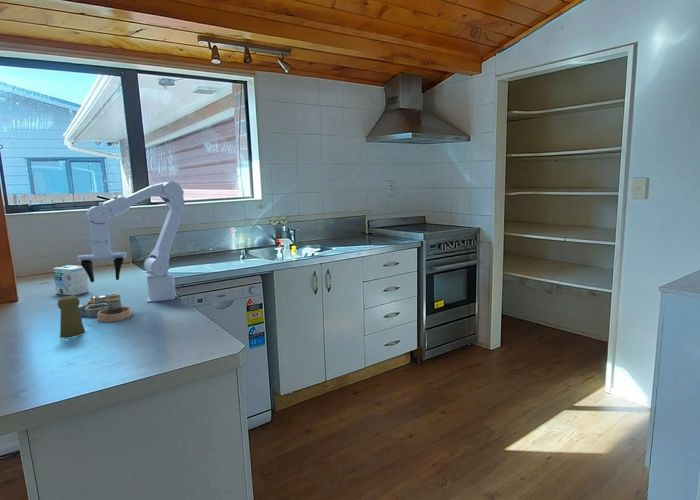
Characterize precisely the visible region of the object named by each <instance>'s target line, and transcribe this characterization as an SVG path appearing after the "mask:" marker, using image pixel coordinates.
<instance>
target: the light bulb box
mask: <svg viewBox="0 0 700 500" xmlns="http://www.w3.org/2000/svg"><path fill="white" fill-rule="evenodd" d="M52 271H53V277H54V287H55V294H58V295H65V296H78V295H83V294H85V293H89V292H90V291H89V283H88V274H87V272H86V271H85V269H84V268H83V267H82V265H71V264H67V265H63V266H57V267H53V270H52Z"/></svg>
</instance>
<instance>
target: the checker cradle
mask: <svg viewBox="0 0 700 500" xmlns="http://www.w3.org/2000/svg"><path fill="white" fill-rule="evenodd" d="M84 305H85V304H79V306H78V310H79V313H80V317H81V318H82V317H88V318H96V317H97V313H98V312H99V311H101V310H104V309H107V304H106V303H102V304H94V305H90V306H87V307H85V306H84ZM100 307H102V308H100ZM94 308H97V309H94Z"/></svg>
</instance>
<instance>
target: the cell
mask: <svg viewBox="0 0 700 500" xmlns="http://www.w3.org/2000/svg"><path fill="white" fill-rule="evenodd" d="M109 295H110V296H107V297H106V303H107V312H108V314H117V313H121V312H122V309H121V306H122V303H121V295H120V294H116V293H111V294H109Z"/></svg>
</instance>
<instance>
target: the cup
mask: <svg viewBox="0 0 700 500" xmlns="http://www.w3.org/2000/svg"><path fill="white" fill-rule="evenodd" d="M121 309H122V312H121V313H117V314H108V312H107V309H104V310H101V311H99V312H98V313H97V321H98V322H103V323H110V322H118V321H122V320H125V319H129V318H131V316H132V314H133V313H132V307H130V306H124V305H123V306H122V305H121Z"/></svg>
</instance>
